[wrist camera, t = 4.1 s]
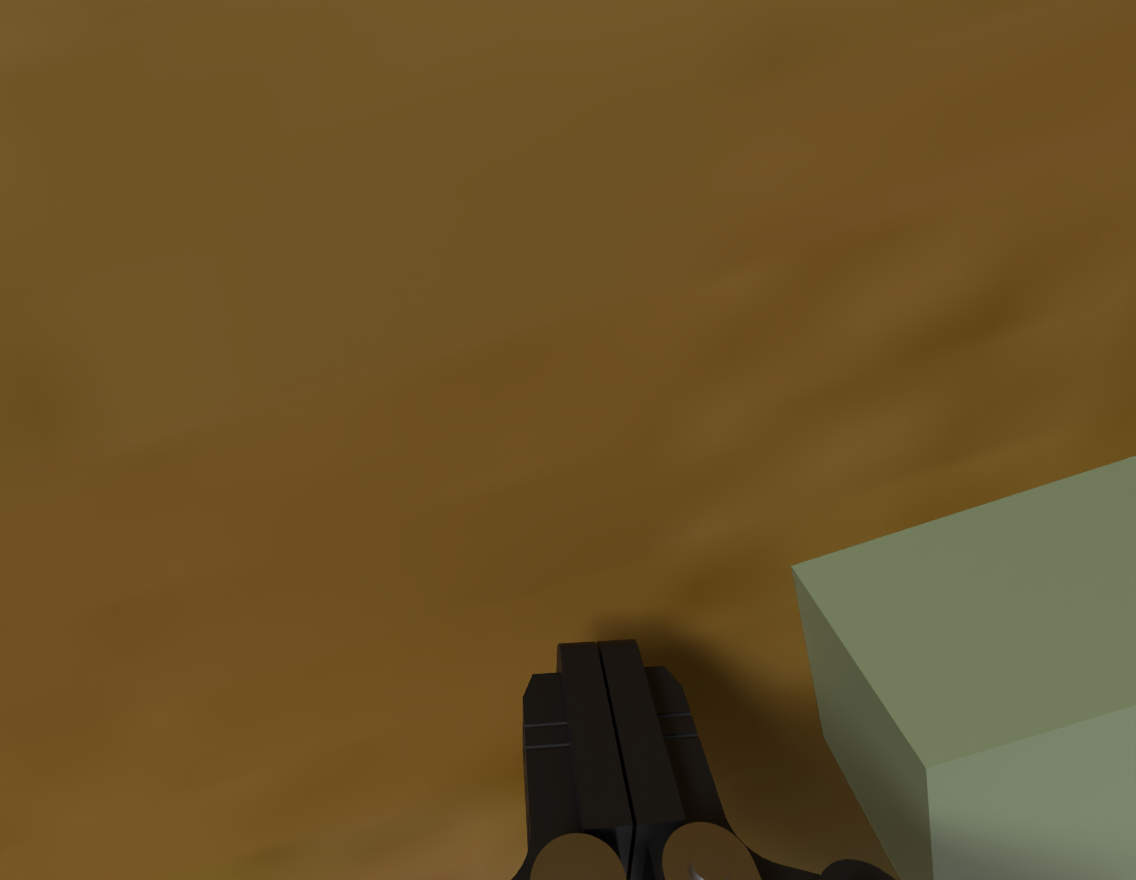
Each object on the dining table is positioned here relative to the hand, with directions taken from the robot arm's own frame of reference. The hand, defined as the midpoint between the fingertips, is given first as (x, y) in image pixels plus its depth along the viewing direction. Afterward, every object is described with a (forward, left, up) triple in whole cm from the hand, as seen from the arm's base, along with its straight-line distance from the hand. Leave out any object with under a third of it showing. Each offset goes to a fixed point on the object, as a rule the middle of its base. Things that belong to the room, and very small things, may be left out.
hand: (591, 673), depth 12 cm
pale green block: (0, +10, -2) cm, 10 cm away
